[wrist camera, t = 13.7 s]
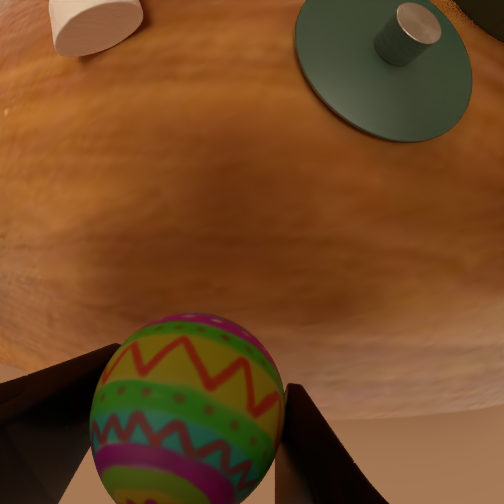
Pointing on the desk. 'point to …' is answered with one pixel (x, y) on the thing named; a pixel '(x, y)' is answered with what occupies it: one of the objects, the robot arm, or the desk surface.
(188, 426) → the egg
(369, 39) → the bin lid
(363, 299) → the desk surface
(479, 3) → the bin
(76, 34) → the white bottle
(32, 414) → the robot arm
